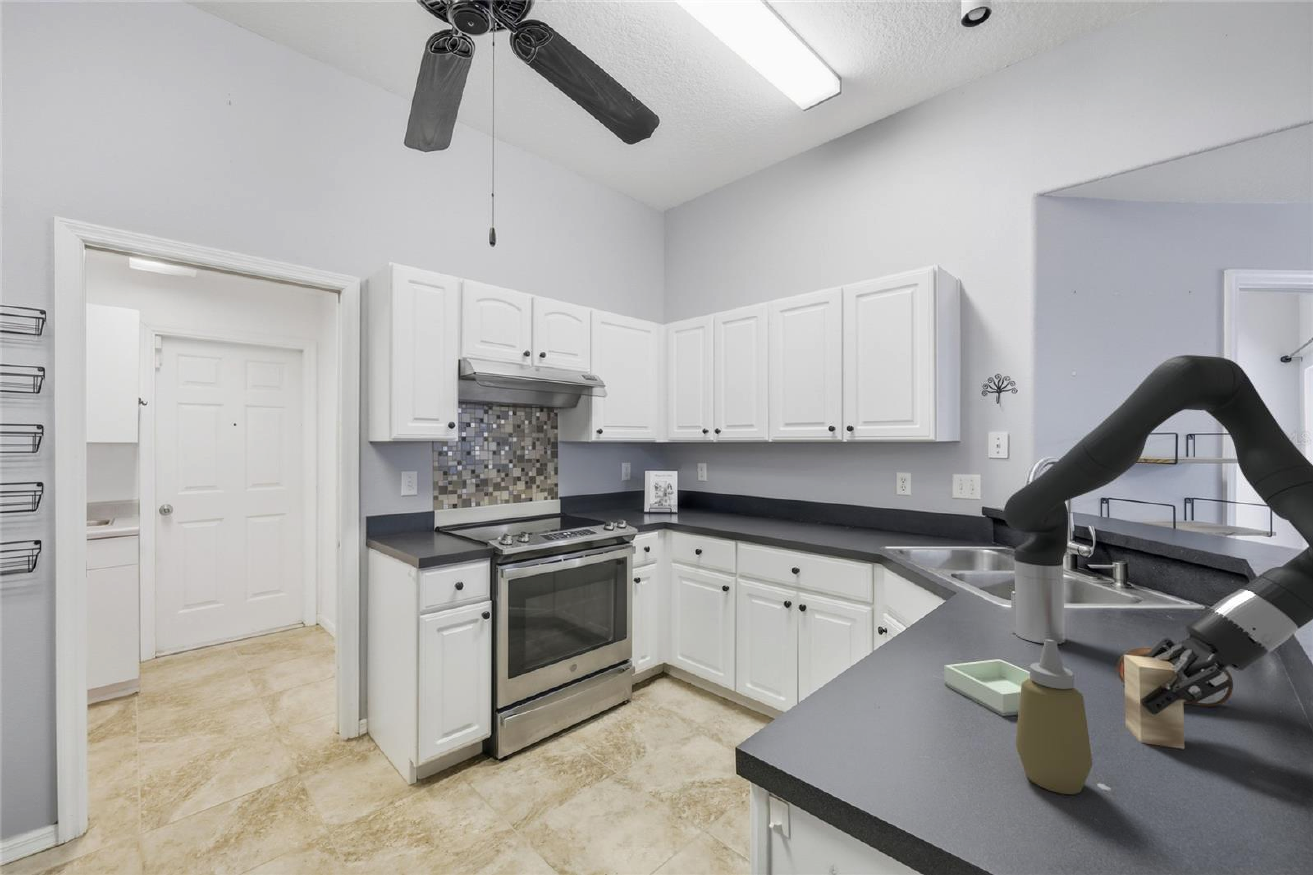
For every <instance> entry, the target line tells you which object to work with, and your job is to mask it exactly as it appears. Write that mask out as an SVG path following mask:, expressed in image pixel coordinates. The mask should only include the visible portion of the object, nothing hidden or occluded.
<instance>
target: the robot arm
mask: <svg viewBox="0 0 1313 875" xmlns="http://www.w3.org/2000/svg"><path fill="white" fill-rule="evenodd" d="M1186 410H1187V411H1189V410H1190V411H1205V412H1206V413H1208V414H1209V415H1210V416H1211V417H1213V418H1214V419H1215V420H1216V421H1218V423H1219V424H1221V425H1222V427H1223V428H1224V429H1225V430H1226V431H1227V432H1228V434H1229V435H1230V438H1231V440H1232V442H1233V445H1234V446H1233V447H1234V449H1235V454H1236V460H1237V463H1238V467H1239V469H1240V470H1241V473H1242V476H1243V477H1244V479H1245V480H1246V481H1247V482H1248V484H1249V485H1250V487H1251V488H1252V489H1253V490H1254V492H1256V494H1257V495H1258V496H1259V497H1260V498H1261V499H1262V501H1263V502H1264V503H1265V505H1266V506H1267V507H1268V508H1269V509H1270V510H1271V512H1273V513H1274V514H1275V515H1276V516H1277V517H1279V518H1281V519H1282V520H1285V521H1288V522H1289V524H1291V525H1292V527H1293V528H1294V529H1295V530H1296V531H1297V532H1298V534H1299V535H1300V536H1301V537H1302V538H1303V539H1304V541H1305V542H1306V543H1307V545H1308V546H1307V548H1305V549H1304V550H1302V552H1300V553H1299V554H1298V555H1296V556H1295V557H1293V558H1292V559H1289V561H1288V562H1286V563H1285V564H1283V565H1282V566H1275V567H1271V568H1269V569H1267V570H1265V571H1264V572H1263V573H1261V574H1259V575H1258V576H1256V577H1255V578H1253V579H1251V581H1250V582H1248V583H1247V584H1245V585H1243V587H1241V588H1240V589H1238V590H1236V591H1234V592H1233V593H1231V594H1229V595H1227V596H1225V597H1224V598H1222V599H1220V600H1219V601H1218V602H1216V603H1215V604H1214V605H1213V606H1210V607H1209V608H1208V609H1207V610H1205V611H1204V612H1202V613H1201V614H1200V615H1199V616H1197V617H1196V618H1194V619H1192V620H1191V621H1190V622H1188V623H1187V624H1186V625H1185V626H1184V630H1185V632H1186V633H1187V634H1189V637H1188V638H1186V639H1184V640H1181V641H1179V642H1176V643H1175V642H1174V641H1172V639H1170V638H1169V637H1165V638H1163V639H1162V640H1161V641H1160V642H1159V643H1157V644H1156V646H1155V647H1152V648H1153V649H1152V650H1151V651H1150V652H1149V653H1148V654H1147V655H1146V656H1145V657H1150V658H1157V659H1159V660H1163V661H1168V662H1170V663H1171V664H1173V665H1174V667H1173V668H1172V669H1173V670H1174V671H1173V672H1172V674H1173V676H1172V677H1171V678H1170V679H1168V680H1167V681H1166V682H1165V683H1164V684H1163V687H1164V688H1162V687H1161V686H1160V687H1158V688H1157V689H1155V690H1154V691H1153V692H1151V693H1150V694H1148V695H1147V696H1145V697H1144V698H1143V699H1141V700H1140V703H1141V704H1142V705H1143V706H1144V707H1145V708H1146V709H1147V710H1148V711H1149V712H1151V713H1152V714H1158V713H1159V712H1161V711H1162V710H1163V709H1165V708H1166V707H1168V706H1169V705H1171V704H1172V703H1174V702H1175V701H1176V700H1178V701H1184V700H1185V701H1187V702H1188V703H1189V704H1188V705H1190V704H1195V703H1197V702H1199V701H1201V700H1203V699H1205V698H1207V697H1209V696H1211V695H1213V694H1215V693H1217V692H1219V691H1221V690H1223V689H1225V688H1227V687H1229V686H1231V685H1232V684H1233V685H1234V681H1231V680H1230V679H1229V678H1228V677H1227V676H1226V675H1225V674H1224V673H1223V672H1224V670H1225V669H1226V670H1227V668H1228V667H1230V668H1232V669H1234V670H1235V671H1244V670H1245V669H1247V668H1248V667H1251V666H1252V665H1253V664H1254V663H1255V662H1257V661H1259V660H1261V659H1262V658H1263V657H1264V656H1266V655H1267V654H1268V653H1270V652H1272V651H1273V650H1275V649H1276V648H1278V647H1279V646H1280V645H1282V644H1283V643H1285V642H1286V641H1287V640H1288V639H1290V637H1292V636H1293V635H1294V633H1296V632H1297V631H1298V630H1299V629H1301V628H1302V627H1304V626H1305V625H1306V624H1308V623H1309V622H1311V621H1312V620H1313V464H1312V463H1311V461H1309V459H1307V457H1306V456H1305V455H1303V453H1302V452H1301V451H1300V450H1299V448H1297V447H1296V445H1295V444H1294V443H1293V441H1292V440H1291V439H1290V438H1289V437H1288V435H1287V434H1286V433H1285V431H1284V430H1283V429H1282V428H1281V425H1279V423H1278V421H1277V420H1276V418H1275V417H1274V416H1273V414H1272V413H1271V411H1270V410H1269V408H1268V406H1267V404H1266V403H1265V402H1264V401H1263V399H1262V397H1261V396H1260V394H1259V392H1258V391H1257V389H1256V387H1255V385H1254V384H1253V383H1252V381H1251V379H1250V378H1249V376H1248V375H1247V373H1246V372H1245V370H1244V369H1243V368H1242V367H1241V366H1240V365H1239V364H1238V363H1236V362H1235V361H1233V360H1231V359H1229V358H1224V357H1221V356H1218V357H1217V356H1212V355H1211V356H1210V355H1209V356H1208V355H1193V354H1191V355H1190V354H1186V355H1185V354H1184V355H1178V356H1174V357H1171V358H1169V359H1168V358H1167V359H1166V360H1165V361H1164V362H1161V364H1159V365H1158V366H1157V367H1156V368H1155V369H1154V370H1152V371H1151V372H1150V374H1148V375H1147V377H1145V379H1144V380H1143V381H1142V382H1141V383H1140V384H1139V386H1137V388H1136V389H1135V390H1134V391H1133V392H1132V393H1131V394H1130V395H1129V396H1128V397H1127V398H1126V400H1124V402H1123V403H1122V404H1121V405H1120V406H1119V407H1118V408H1116V409H1115V410H1114V411H1113V412H1112V413H1111V414H1110V415H1109V416H1108V417H1106V418H1105V419H1104V420H1103V421H1102V422H1101V423H1099V425H1097V427H1095V428H1094V429H1093V430H1091V432H1089V433H1088V434H1086V435H1085V436H1084V437H1083V438H1082V439H1081V440H1079V441H1078V442H1077V443H1076V444H1075V445H1074V446H1073V447H1071V449H1069V451H1068V452H1067V453H1065V454H1064V455H1063V456H1062V457H1061V458H1060V459H1059V460H1057V461H1056V462H1054V463H1053V464H1052V465H1051V466H1050V467H1049V468H1048V469H1046V471H1044V472H1043V473H1042V474H1040V475H1039V476H1038V477H1037V478H1035V479H1034V480H1033V481H1031V482H1030V483H1028V484H1026V485H1025V486H1024V487H1022V488H1021V489H1019V490H1017V491H1016V492H1015V493H1014V494H1012V495H1011V496H1010V497H1009V498H1008V500H1007V501H1006V503H1005V505H1004V508H1003V516H1004V521H1005V523H1006V525H1008V526H1009V527H1010V528H1011V529H1013V530H1015V531H1017V532H1022V533H1027V534H1028V533H1030V536H1029V538H1028V539H1027V540H1026V541H1025V542H1024V543H1022V544H1020V545H1018V546H1016V547H1015V549H1014V554H1013V556H1014V557H1013V558H1014V559H1013V562H1014V563H1013V564H1014V590H1012V591H1011V592H1010V603H1011V610H1010V611H1011V633H1013V634H1015V635H1016V636H1017V637H1019V638H1020V639H1022V640H1027V641H1029V642H1034V643H1038V644H1044V643H1045V640H1046V639H1050V640H1054V641H1056V643H1057V645H1062V644H1063V643H1065V642H1066V641H1065V638H1066V636H1065V635H1066V634H1065V584H1064V582H1065V581H1064V579H1065V578H1064V557H1065V555H1066V554H1067V550H1068V543H1069V542H1068V537H1069V510H1068V507H1067V504H1066V502H1068V501H1069V500H1071V499H1074V498H1075V499H1076V497H1080V496H1082V495H1085V494H1088V493H1091V492H1093V491H1096V490H1099V489H1100V488H1102V487H1104V486H1107V485H1108V484H1110V483H1112V482H1114V481H1115V480H1116V479H1117V478H1119V477H1121V476H1122V475H1123V474H1124V473H1126V472H1127V471H1128V470H1130V469H1131V468H1133V466H1134V465H1136V463H1137V462H1138V461H1139V460H1140V458H1141V456H1142V454H1143V452H1144V449H1145V446H1146V442H1147V440H1148V437H1149V436H1150V435H1151V433H1152V432H1153V431H1155V429H1157V428H1158V427H1159V426H1160V425H1162V424H1163V423H1164V422H1166V421H1167V420H1169V419H1170V418H1172V417H1173V416H1174V415H1176V414H1178V413H1180V412H1183V411H1186ZM1179 681H1181V682H1180V683H1178V682H1179ZM1207 682H1208V683H1207ZM1177 683H1178V684H1177ZM1122 687H1123V689H1124V690H1125V684H1124V683H1123V685H1122ZM1199 690H1200V691H1199ZM1193 691H1195V692H1196V693H1194V694H1192V692H1193Z"/></svg>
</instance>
